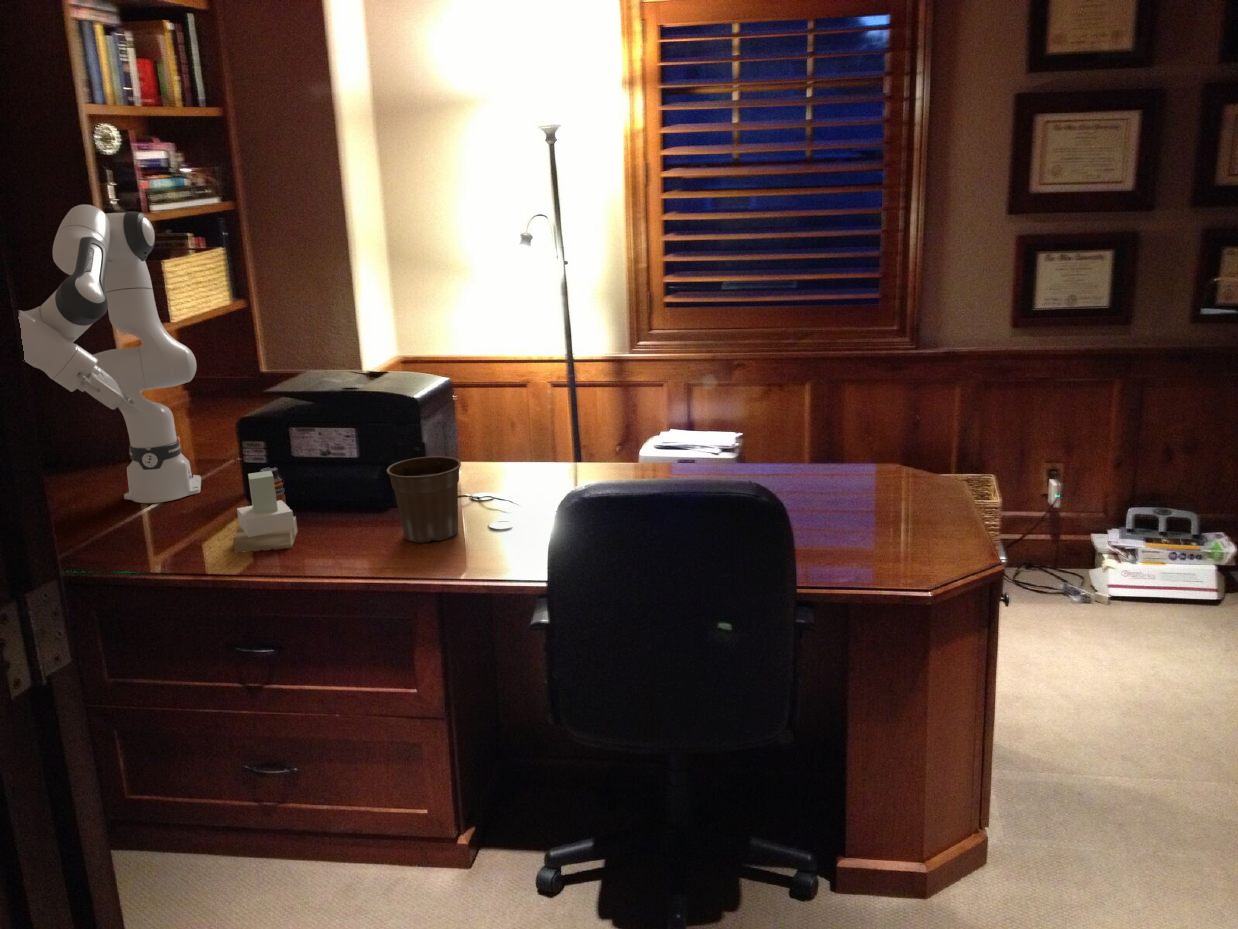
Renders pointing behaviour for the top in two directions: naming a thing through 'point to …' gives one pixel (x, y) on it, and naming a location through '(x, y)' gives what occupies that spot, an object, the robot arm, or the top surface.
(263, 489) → the sage block
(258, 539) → the maple base slab
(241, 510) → the white top slab
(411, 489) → the plant pot
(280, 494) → the supplement bottle
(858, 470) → the top surface
